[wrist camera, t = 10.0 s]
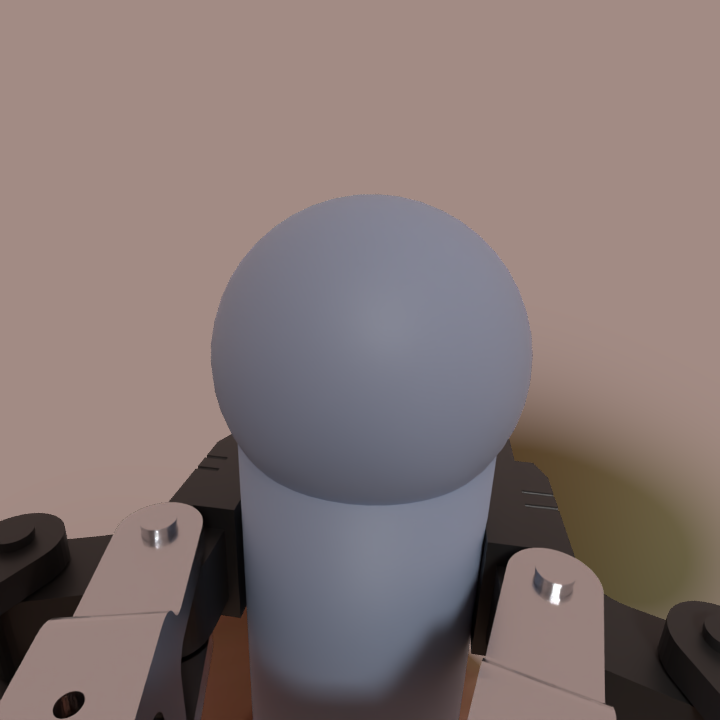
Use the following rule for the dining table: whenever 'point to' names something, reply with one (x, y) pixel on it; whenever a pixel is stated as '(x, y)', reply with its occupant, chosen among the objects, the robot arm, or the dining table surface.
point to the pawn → (367, 451)
